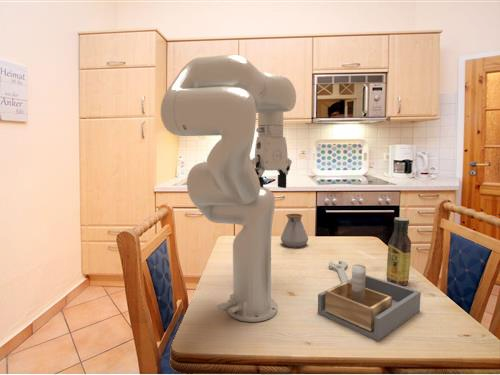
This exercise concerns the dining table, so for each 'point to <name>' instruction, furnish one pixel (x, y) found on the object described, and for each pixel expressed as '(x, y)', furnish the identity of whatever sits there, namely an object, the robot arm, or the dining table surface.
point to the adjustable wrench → (340, 270)
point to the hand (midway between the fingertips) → (270, 188)
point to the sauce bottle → (399, 253)
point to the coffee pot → (294, 232)
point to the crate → (357, 300)
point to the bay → (390, 319)
